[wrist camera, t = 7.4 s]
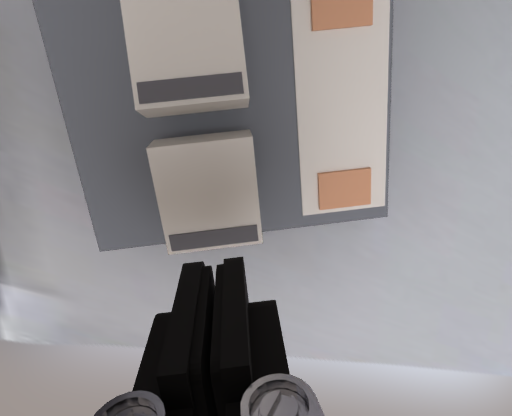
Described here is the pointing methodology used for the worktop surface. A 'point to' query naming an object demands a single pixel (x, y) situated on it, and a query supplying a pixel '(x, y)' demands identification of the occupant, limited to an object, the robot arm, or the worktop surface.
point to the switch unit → (236, 112)
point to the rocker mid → (185, 56)
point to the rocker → (206, 190)
